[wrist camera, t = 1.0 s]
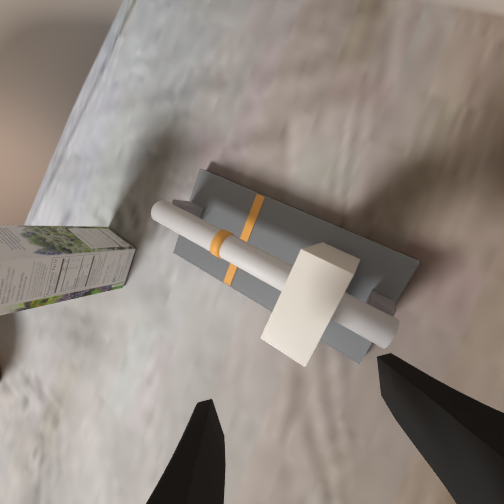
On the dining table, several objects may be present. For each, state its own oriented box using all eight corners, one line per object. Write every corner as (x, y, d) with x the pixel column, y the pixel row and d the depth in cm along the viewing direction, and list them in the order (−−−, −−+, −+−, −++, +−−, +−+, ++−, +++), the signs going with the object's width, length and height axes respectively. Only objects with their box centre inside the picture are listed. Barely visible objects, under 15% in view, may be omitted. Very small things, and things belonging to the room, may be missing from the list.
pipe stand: (418, 260, 19) (434, 272, 14) (360, 358, 21) (355, 399, 16) (205, 170, 26) (165, 157, 21) (179, 251, 28) (137, 257, 23)
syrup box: (96, 264, 34) (-74, 288, 21) (108, 224, 33) (-70, 223, 20) (124, 287, 32) (-45, 329, 19) (138, 246, 31) (-36, 261, 18)
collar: (360, 259, 19) (354, 274, 13) (325, 326, 21) (305, 367, 15) (322, 242, 20) (300, 249, 14) (292, 307, 22) (260, 338, 16)
